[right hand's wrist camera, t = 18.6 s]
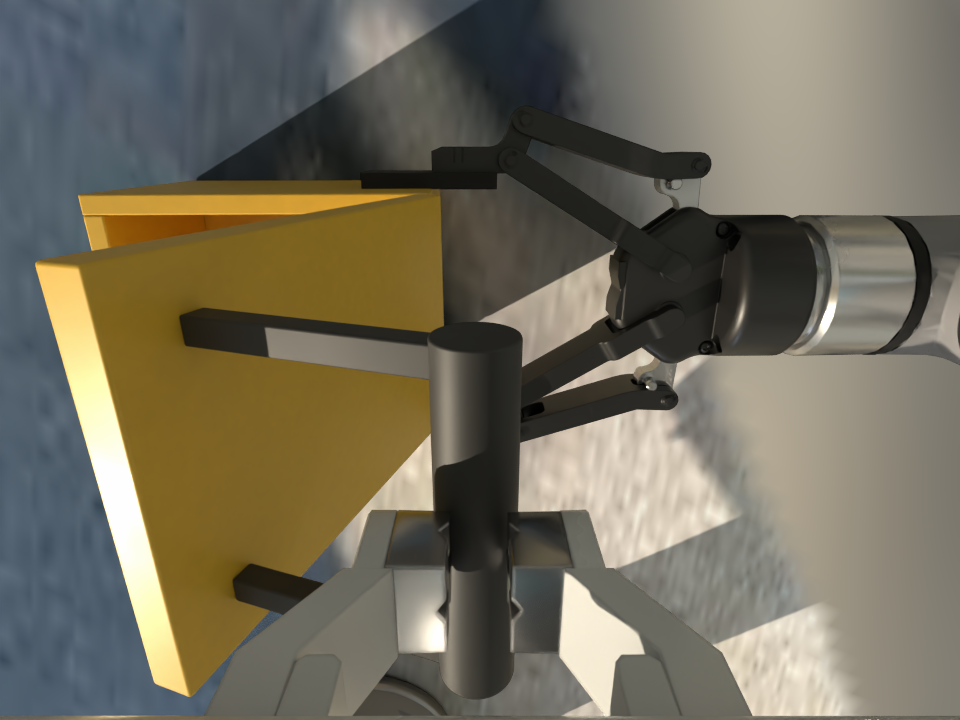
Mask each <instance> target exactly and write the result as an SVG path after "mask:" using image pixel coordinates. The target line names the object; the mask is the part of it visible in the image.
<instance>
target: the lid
mask: <svg viewBox="0 0 960 720" xmlns="http://www.w3.org/2000/svg"><path fill="white" fill-rule="evenodd" d="M36 269H37V273H38V276H39V280H40V283H41V287H42V290H43V294H44V297H45V301H46V304H47V308H48V311H49V315H50V318H51V322H52V325H53V329H54V332H55V336H56V339H57V343H58V346H59V350H60V353H61V357H62V360H63V364H64V367H65V371H66V374H67V378H68V381H69V385H70V388H71V392H72V395H73V399H74V402H75V406H76V409H77V413H78V416H79V420H80V423H81V427H82V430H83V434H84V437H85V441H86V444H87V448H88V451H89V455H90V458H91V462H92V465H93V469H94V472H95V476H96V479H97V483H98V486H99V490H100V493H101V497H102V500H103V504H104V507H105V511H106V514H107V518H108V521H109V525H110V528H111V532H112V535H113V539H114V542H115V546H116V549H117V553H118V556H119V560H120V563H121V567H122V570H123V574H124V578H125V581H126V585H127V588H128V592H129V595H130V599H131V602H132V606H133V609H134V613H135V616H136V620H137V623H138V627H139V630H140V634H141V637H142V641H143V644H144V648H145V651H146V655H147V658H148V662H149V665H150V669H151V672H152V676H153V679H154V682H155V683H156V684H157V685H160V686H162V687H165V688H168V689H170V690H173V691H175V692H178V693H181V694H183V695H186V696H188V697H191V696H193V695H194V694H195V693H196V692H197V691H198V690H199V688H200V687H201V686H202V685H203V684H204V683H205V682H206V681H207V680H208V679H209V677H210V676H211V675H212V674H213V673H214V672H215V671H216V670H217V669H218V668H219V666H220V665H221V664H222V663H223V662H224V661H225V660H226V659H227V658H228V656H229V655H230V654H231V653H232V652H233V651H234V650H235V649H236V648H237V647H238V645H239V644H240V643H241V642H242V641H243V640H244V639H245V638H246V637H247V635H248V634H249V633H250V632H251V631H252V630H253V629H254V628H255V627H256V626H257V624H258V623H259V622H260V621H261V620H262V619H263V618H264V617H265V616H266V614H267V613H268V612H269V611H273V612H276V613H279V614H282V615H284V614H285V613H286V612H288V611H289V610H290V609H292V608H293V607H294V606H296V605H297V604H298V603H299V602H301V601H302V600H303V599H305V598H306V597H307V596H308V595H310V594H311V593H312V592H314V591H315V590H316V589H318V588H319V587H320V586H321V585H323V584H324V583H320V582H317V581H313V580H309V579H306V578H302V577H301V576H302V575H303V574H304V573H305V571H306V570H307V569H308V568H309V567H310V566H311V565H312V564H313V563H314V561H315V560H316V559H317V558H318V557H319V556H320V555H321V554H322V553H323V552H324V550H325V549H326V548H327V547H328V546H329V545H330V544H331V543H332V542H333V540H334V539H335V538H336V537H337V536H338V535H339V534H340V533H341V532H342V531H343V529H344V528H345V527H346V526H347V525H348V524H349V523H350V522H351V521H352V520H353V518H354V517H355V516H356V515H357V514H358V513H359V512H360V511H361V510H362V508H363V507H364V506H365V505H366V504H367V503H368V502H369V501H370V500H371V499H372V497H373V496H374V495H375V494H376V493H377V492H378V491H379V490H380V489H381V487H382V486H383V485H384V484H385V483H386V482H387V481H388V480H389V479H390V478H391V476H392V475H393V474H394V473H395V472H396V471H397V470H398V469H399V468H400V466H401V465H402V464H403V463H404V462H405V461H406V460H407V459H408V458H409V457H410V455H411V454H412V453H413V452H414V451H415V450H416V449H417V448H418V447H419V446H420V444H421V443H422V442H423V441H424V440H425V439H426V438H427V437H428V436H429V434H430V433H431V451H432V478H433V505H434V511H450V513H451V543H450V549H451V550H452V585H451V602H450V603H449V634H448V648H447V652H445V653H411V654H412V655H416V656H419V657H422V658H425V659H429V660H432V661H435V662H438V663H439V667H440V674H441V677H442V679H443V681H444V683H445V684H446V686H447V687H448V688H449V689H450V690H451V691H452V692H454V693H455V694H457V695H459V696H461V697H464V698H468V699H485V698H489V697H492V696H494V695H496V694H498V693H499V692H501V691H502V690H503V689H504V688H505V687H506V686H507V685H508V683H509V681H510V680H511V678H512V675H513V671H514V653H511V652H510V638H509V624H508V608H509V604H508V603H507V589H506V550H507V548H508V547H507V512H518V494H519V456H520V419H521V381H522V343H523V338H522V335H521V333H520V332H519V331H517V330H516V329H514V328H511V327H509V326H505V325H501V324H496V323H488V322H463V323H455V324H450V325H446V326H444V313H443V274H442V235H441V197H440V195H427V194H415V195H409V196H404V197H398V198H392V199H386V200H381V201H375V202H369V203H364V204H358V205H352V206H346V207H341V208H335V209H329V210H323V211H318V212H312V213H306V214H300V215H295V216H289V217H283V218H277V219H272V220H266V221H260V222H254V223H249V224H243V225H237V226H231V227H226V228H220V229H214V230H209V231H203V232H197V233H191V234H186V235H180V236H174V237H168V238H163V239H157V240H151V241H145V242H140V243H134V244H128V245H122V246H117V247H111V248H105V249H99V250H94V251H88V252H82V253H77V254H71V255H65V256H59V257H54V258H48V259H42V260H39V261H37V262H36Z"/></svg>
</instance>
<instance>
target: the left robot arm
mask: <svg viewBox="0 0 960 720" xmlns="http://www.w3.org/2000/svg"><path fill="white" fill-rule="evenodd" d="M531 139H533V140H536V141H539V142H542V143H545V144H548V145H551V146H554V147H557V148H560V149H562V150H565V151H568V152H571V153H574V154H577V155H580V156H583V157H586V158H589V159H591V160H594V161H597V162H600V163H603V164H606V165H609V166H612V167H615V168H618V169H620V170H623V171H626V172H629V173H632V174H636V175H639V176H645V177H650V178H654V186H655V189H656V190H657V191H658V192H659V193H661V194H665V195H668V196H669V197H670V198H671V199H672V202H673V207H672V208H670V209H668V210H667V211H666V212H664V213H663V214H661V215H660V216H658V217H657V218H655V219H654V220H653V221H651V222H650V223H648V224H647V225H645V226H644V227H642V228H641V229H639V228H637V227H636V226H634V225H633V224H631V223H630V222H628V221H626V220H625V219H623V218H622V217H620V216H618V215H617V214H615V213H614V212H612V211H611V210H609V209H608V208H606V207H605V206H603V205H602V204H600V203H599V202H597V201H596V200H594V199H593V198H591V197H590V196H588V195H587V194H585V193H584V192H582V191H581V190H579V189H577V188H576V187H574V186H573V185H571V184H570V183H568V182H567V181H565V180H564V179H562V178H561V177H559V176H558V175H556V174H555V173H553V172H552V171H550V170H549V169H547V168H546V167H544V166H543V165H541V164H540V163H538V162H537V161H535V160H533V159H532V158H530V157H529V156H527V155H526V152H527V149H528V146H529V144H530V141H531ZM710 168H711V159H710V157H709V156H708V155H707V154H706V153H702V152H667V153H662V152H659V151H656V150H653V149H650V148H647V147H645V146H642V145H639V144H636V143H633V142H630V141H628V140H625V139H622V138H619V137H616V136H613V135H610V134H608V133H605V132H602V131H599V130H596V129H593V128H591V127H588V126H585V125H582V124H579V123H576V122H574V121H571V120H568V119H565V118H562V117H559V116H557V115H554V114H551V113H548V112H545V111H542V110H540V109H537V108H534V107H531V106H522V107H520V108H518V109H517V110H515V111H514V112H513V113H512V115H511V117H510V121H509V123H508V126H507V129H506V132H505V135H504V137H503V139H502V140H501V142H500V143H498V144H497V145H495V146H492V147H440V148H438V149H436V150H433V151H432V171H413V170H370V171H365V172H361V173H360V176H361V189H497V173H507V174H508V175H510V176H511V177H513V178H514V179H516V180H518V181H519V182H521V183H522V184H524V185H525V186H527V187H528V188H530V189H531V190H533V191H535V192H536V193H538V194H539V195H541V196H542V197H544V198H545V199H547V200H548V201H550V202H552V203H553V204H555V205H556V206H558V207H559V208H561V209H562V210H564V211H566V212H567V213H569V214H570V215H572V216H573V217H575V218H576V219H578V220H579V221H581V222H583V223H584V224H586V225H587V226H589V227H590V228H592V229H593V230H595V231H596V232H598V233H600V234H601V235H603V236H604V237H606V238H607V239H609V240H610V241H612V242H613V243H615V244H617V245H618V247H617V248H616V250H615V252H614V254H613V255H610V263H609V271H610V276H611V286H610V289H609V292H608V294H607V299H606V311H607V312H608V313H609V315H608V316H606V317H604V318H602V319H601V320H599V321H597V322H596V323H594V324H593V325H592V327H591V328H590V329H589V330H588V331H586V332H584V333H582V334H580V335H579V336H577V337H575V338H573V339H572V340H570V341H568V342H566V343H564V344H563V345H561V346H559V347H557V348H556V349H554V350H552V351H550V352H548V353H547V354H545V355H543V356H541V357H540V358H538V359H536V360H534V361H532V362H531V363H529V364H527V365H525V366H524V367H522V381H521V419H520V443H521V442H524V441H528V440H531V439H535V438H538V437H542V436H545V435H549V434H552V433H556V432H559V431H563V430H566V429H570V428H573V427H577V426H580V425H584V424H587V423H591V422H594V421H598V420H601V419H605V418H608V417H612V416H615V415H619V414H622V413H626V412H629V411H633V410H636V409H643V410H670V409H672V408H674V407H675V406H676V405H677V403H678V396H677V394H676V393H675V392H674V390H673V382H674V377H675V371H676V365H677V363H678V362H681V361H683V360H685V359H687V358H689V357H692V356H696V355H714V356H748V355H777V354H780V353H782V352H783V353H785V354H789V355H793V356H800V355H848V354H863V355H876V354H914V355H931V356H937V357H941V358H945V359H947V360H950V361H952V362H954V363H956V364H959V365H960V215H949V216H841V215H799V216H796V217H794V218H790V217H788V216H785V215H709V214H707V213H705V212H704V211H702V210H701V209H699V208H698V204H699V194H700V183H701V178H702V177H704V176H705V175H707V174H708V172H709V171H710ZM641 347H642V348H643V349H645V350H646V351H647V352H649V353H650V354H651V355H653V356H654V360H653V361H652V362H651V363H650V364H649V365H646V366H642V367H637V368H636V370H635V372H634V374H624V375H619V376H614V377H611V378H607V379H604V380H600V381H597V382H594V383H590V384H587V385H583V386H580V387H577V388H573V389H570V390H566V391H563V392H559V393H556V394H553V395H549V396H546V397H543V396H545V395H547V394H549V393H551V392H552V391H554V390H556V389H558V388H560V387H562V386H563V385H565V384H567V383H569V382H571V381H572V380H574V379H576V378H578V377H580V376H582V375H583V374H585V373H587V372H589V371H591V370H593V369H594V368H596V367H598V366H600V365H602V364H603V363H605V362H607V361H610V360H618V359H621V358H623V357H625V356H626V355H628V354H630V353H632V352H634V351H635V350H637V349H639V348H641ZM353 716H447V715H446V713H445V712H444V710H443V709H442V707H441V706H440V705H439V704H438V703H437V702H436V701H435V700H434V699H433V698H432V697H431V696H430V695H428V694H427V693H426V692H424V691H422V690H421V689H419V688H417V687H415V686H413V685H411V684H409V683H406V682H404V681H401V680H398V679H394V678H390V677H385V676H383V677H382V678H381V680H380V681H379V682H378V684H377V685H376V686H375V687H374V689H373V690H372V691H371V693H370V694H369V695H368V696H367V698H366V699H365V700H364V701H363V703H362V704H361V705H360V707H359V708H358V709H357V710H356V712H355V713H354V714H353Z"/></svg>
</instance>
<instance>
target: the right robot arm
mask: <svg viewBox="0 0 960 720" xmlns="http://www.w3.org/2000/svg"><path fill="white" fill-rule="evenodd" d="M450 543H451V513H450V511H412V510H399V511H397V510H372V511H371V512H370V513H369V514H368V517H367V520H366V523H365V527H364V530H363V533H362V536H361V540H360V543H359V546H358V549H357V552H356V556H355V559H354V562H353V565H352V568H344V569H342V570H341V571H340V572H338V573H337V574H336V575H334V576H333V577H332V578H331V579H329V580H328V581H327V582H325V583H324V584H323V585H321V586H320V587H319V588H318V589H316V590H315V591H314V592H312V593H311V594H310V595H308V596H307V597H306V598H305V599H303V600H302V601H301V602H299V603H298V604H297V605H296V606H294V607H293V608H292V609H290V610H289V611H288V612H286V613H285V614H284V615H283V616H281V617H280V618H279V619H277V620H276V621H275V622H273V623H272V624H271V625H270V626H268V627H267V628H266V629H264V630H263V631H262V632H261V633H259V634H258V635H257V636H255V637H254V638H253V639H251V640H250V641H249V642H248V643H246V644H245V645H244V646H242V647H241V648H240V649H238V650H237V651H236V652H235V654H234V656H233V658H232V660H231V662H230V664H229V666H228V668H227V670H226V672H225V674H224V676H223V678H222V680H221V682H220V684H219V686H218V688H217V690H216V692H215V694H214V696H213V698H212V700H211V702H210V704H209V706H208V708H207V710H206V712H205V715H204V716H0V720H960V716H752V714H751V712H750V710H749V708H748V705H747V703H746V701H745V699H744V697H743V695H742V693H741V691H740V689H739V687H738V685H737V683H736V681H735V678H734V676H733V674H732V672H731V670H730V668H729V666H728V664H727V662H726V660H725V658H724V656H723V654H722V652H720V651H719V650H718V649H717V648H715V647H714V646H713V645H711V644H710V643H709V642H708V641H706V640H705V639H704V638H703V637H701V636H700V635H699V634H697V633H696V632H695V631H694V630H692V629H691V628H690V627H688V626H687V625H686V624H685V623H683V622H682V621H681V620H679V619H678V618H677V617H676V616H674V615H673V614H672V613H670V612H669V611H668V610H667V609H665V608H664V607H663V606H661V605H660V604H659V603H658V602H656V601H655V600H654V599H652V598H651V597H650V596H649V595H647V594H646V593H645V592H643V591H642V590H641V589H640V588H638V587H637V586H636V585H635V584H633V583H632V582H631V581H629V580H628V579H627V578H626V577H624V576H623V575H622V574H620V573H619V572H618V571H617V570H615V569H614V568H606V567H605V564H604V561H603V558H602V554H601V551H600V548H599V544H598V541H597V538H596V535H595V531H594V528H593V525H592V522H591V518H590V515H589V512H587V511H586V510H563V511H545V512H507V547H508V548H507V550H506V589H507V603H508V604H509V608H508V624H509V638H510V652H511V653H546V654H559V657H560V658H561V659H562V661H563V662H564V663H565V664H566V666H567V667H568V668H569V670H570V671H571V672H572V673H573V675H574V676H575V677H576V679H577V680H578V681H579V683H580V684H581V685H582V686H583V688H584V689H585V690H586V692H587V693H588V694H589V695H590V697H591V698H592V699H593V701H594V702H595V703H596V705H597V706H598V707H599V708H600V710H601V711H602V712H603V714H604V715H605V716H353V714H354V713H355V712H356V710H357V709H358V708H359V707H360V705H361V704H362V703H363V701H364V700H365V699H366V698H367V696H368V695H369V694H370V693H371V691H372V690H373V689H374V687H375V686H376V685H377V684H378V682H379V681H380V680H381V678H382V677H383V676H384V675H385V673H386V672H387V671H388V670H389V668H390V667H391V666H392V664H393V663H394V662H395V661H396V659H397V658H398V654H411V653H445V652H447V648H448V634H449V603H450V602H451V585H452V550H451V549H450Z"/></svg>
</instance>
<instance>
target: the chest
mask: <svg viewBox="0 0 960 720" xmlns="http://www.w3.org/2000/svg"><path fill="white" fill-rule="evenodd" d="M415 194H427V195H440V189H361V180H259V181H186V182H177V183H168V184H160V185H152V186H144V187H136V188H128V189H120V190H111V191H103V192H95V193H87V194H80V195H79V196H78V197H79V201H80V205H81V209H82V213H83V215H85V216H84V220H85V225H86V229H87V233H88V237H89V241H90V245H91V249H92V251H94V250H99V249H105V248H111V247H117V246H122V245H128V244H134V243H140V242H145V241H151V240H157V239H163V238H168V237H174V236H180V235H186V234H191V233H197V232H203V231H209V230H214V229H220V228H226V227H231V226H237V225H243V224H249V223H254V222H260V221H266V220H272V219H277V218H283V217H289V216H295V215H300V214H306V213H312V212H318V211H323V210H329V209H335V208H341V207H346V206H352V205H358V204H364V203H369V202H375V201H381V200H386V199H392V198H398V197H404V196H409V195H415Z"/></svg>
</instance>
